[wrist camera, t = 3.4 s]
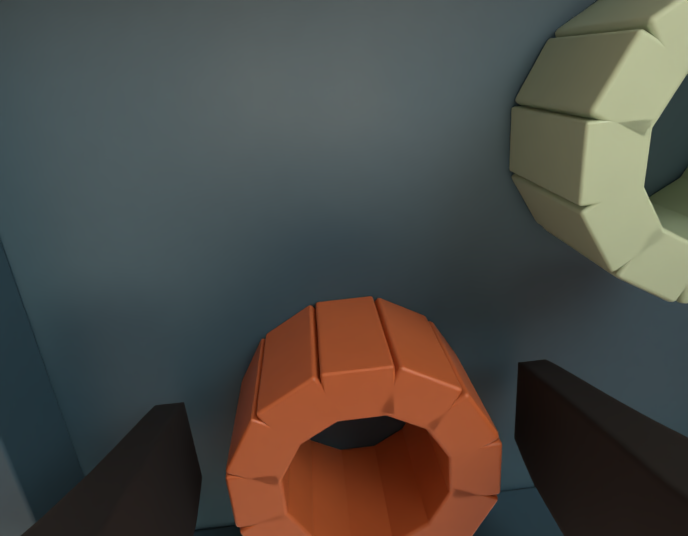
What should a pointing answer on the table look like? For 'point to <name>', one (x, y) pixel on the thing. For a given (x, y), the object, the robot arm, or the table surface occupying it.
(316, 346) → the copper ring
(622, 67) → the sage ring
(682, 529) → the robot arm
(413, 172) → the dark teal tray
